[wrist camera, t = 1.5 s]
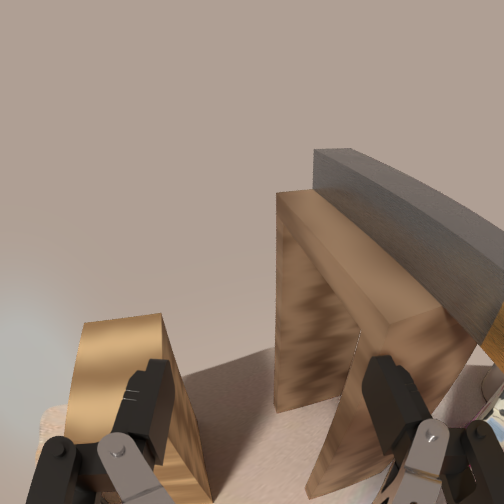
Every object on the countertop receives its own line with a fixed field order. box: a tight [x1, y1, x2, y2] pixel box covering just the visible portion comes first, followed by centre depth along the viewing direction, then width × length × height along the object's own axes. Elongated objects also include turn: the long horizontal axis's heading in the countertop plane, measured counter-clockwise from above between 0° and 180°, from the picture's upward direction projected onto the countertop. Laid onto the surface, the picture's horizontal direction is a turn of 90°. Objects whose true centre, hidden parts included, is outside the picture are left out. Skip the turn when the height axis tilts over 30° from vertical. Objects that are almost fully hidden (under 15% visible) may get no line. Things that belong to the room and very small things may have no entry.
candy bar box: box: [466, 382, 504, 471], centre depth 24 cm, size 11×5×16 cm, turn 120°
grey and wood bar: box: [313, 148, 504, 374], centre depth 15 cm, size 24×4×4 cm, turn 14°
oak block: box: [64, 313, 213, 504], centre depth 27 cm, size 13×8×21 cm, turn 14°
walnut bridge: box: [273, 189, 477, 500], centre depth 27 cm, size 10×16×31 cm, turn 14°
